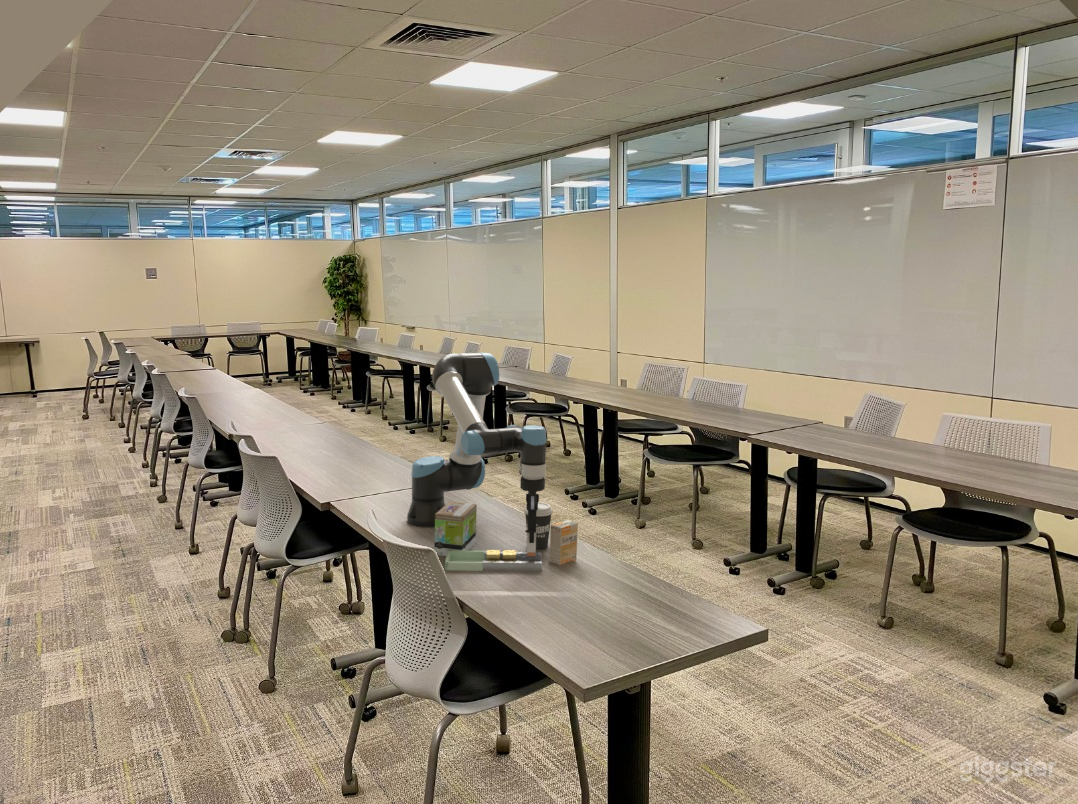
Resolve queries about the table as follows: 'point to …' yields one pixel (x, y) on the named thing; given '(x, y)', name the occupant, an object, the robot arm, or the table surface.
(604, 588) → the table surface
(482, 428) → the robot arm
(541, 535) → the coffee cup
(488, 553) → the tan yellow cube
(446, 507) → the tea box
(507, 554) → the mustard yellow cube
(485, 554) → the slot bed
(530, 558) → the orange pillar grey base
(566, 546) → the supplement box
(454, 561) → the tray
